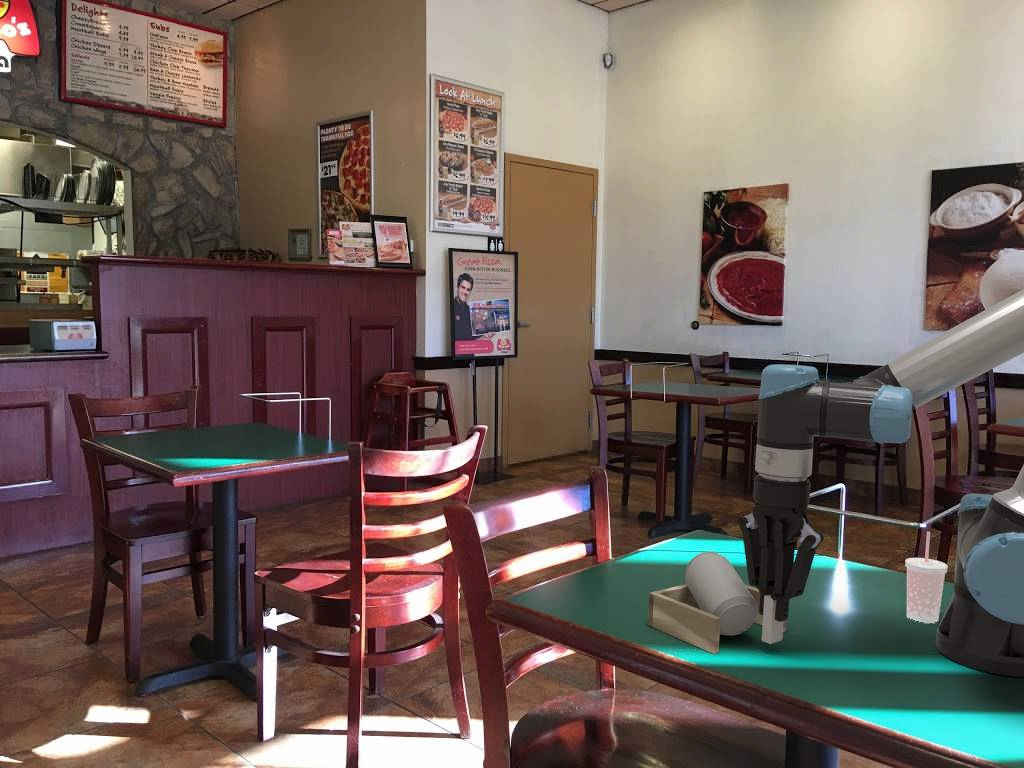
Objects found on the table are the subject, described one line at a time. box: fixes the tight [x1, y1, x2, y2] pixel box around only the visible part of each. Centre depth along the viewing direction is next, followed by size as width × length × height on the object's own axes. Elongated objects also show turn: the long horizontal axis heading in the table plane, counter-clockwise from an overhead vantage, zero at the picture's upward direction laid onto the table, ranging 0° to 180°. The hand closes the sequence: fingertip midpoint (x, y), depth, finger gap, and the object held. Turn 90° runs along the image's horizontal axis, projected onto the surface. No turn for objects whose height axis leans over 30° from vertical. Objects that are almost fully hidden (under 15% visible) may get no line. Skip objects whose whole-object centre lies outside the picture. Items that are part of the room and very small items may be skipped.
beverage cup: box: [904, 531, 949, 624], centre depth 139 cm, size 6×6×14 cm
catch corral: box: [647, 583, 787, 655], centre depth 132 cm, size 16×13×5 cm
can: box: [684, 551, 758, 636], centre depth 131 cm, size 8×8×12 cm
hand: (771, 640), depth 124 cm, fingers closed
